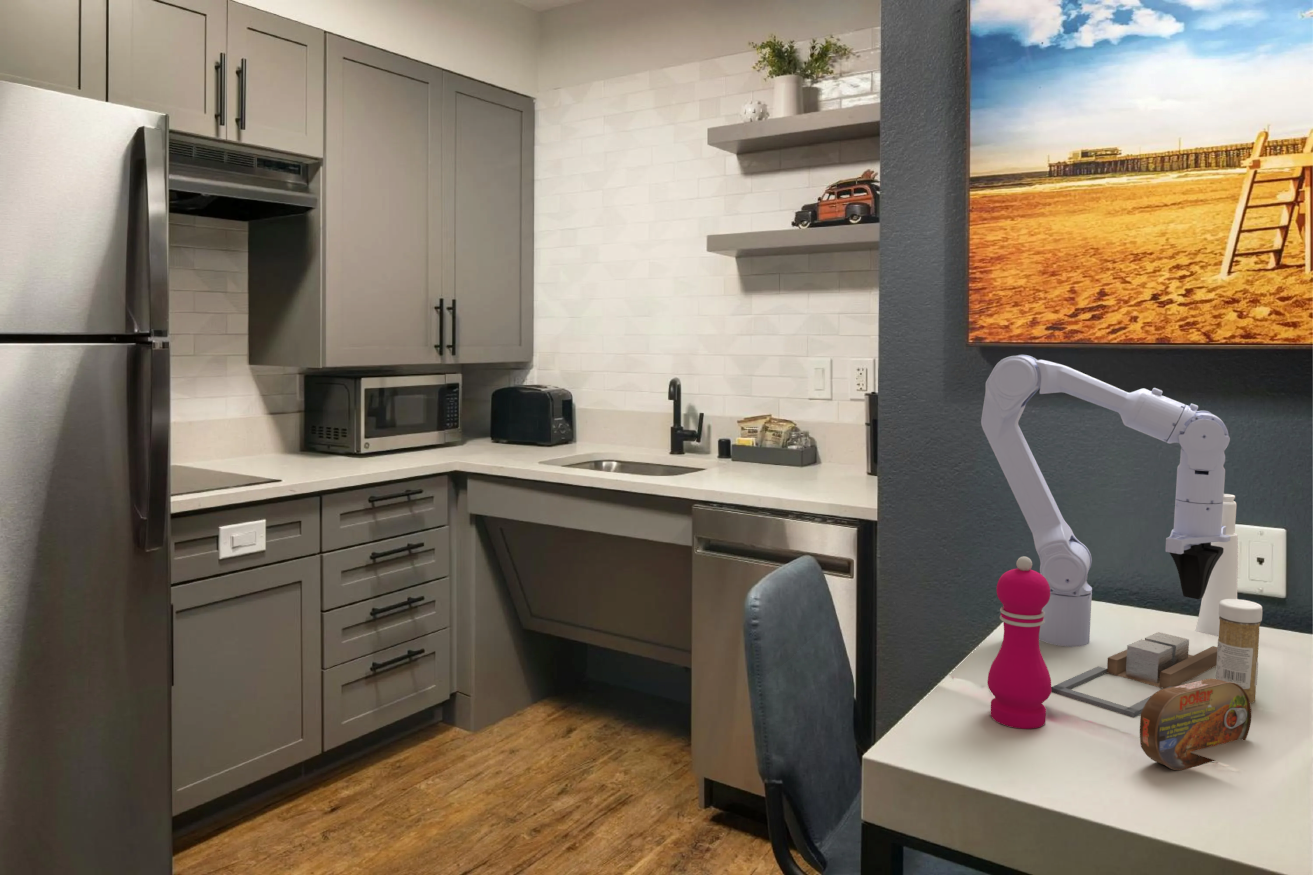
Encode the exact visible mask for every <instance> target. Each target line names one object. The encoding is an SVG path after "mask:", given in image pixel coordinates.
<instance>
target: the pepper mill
mask: <svg viewBox="0 0 1313 875" xmlns="http://www.w3.org/2000/svg"><path fill="white" fill-rule="evenodd" d="M1015 565H1016V568H1012V569H1010V570H1007V571H1005V572H1004V573H1002V574H1001V576H1000V577H999V579H998V580H997V584H996V595H997V598H998V600H999V601H1000V602H1001V604H1002V606H1001V607H1000V608H999V612H1000V615H999V620H1000V621H1002V623H1003V639H1002V643H1001V646H1000V649H999V651H998V652H997V654H996V656H995V658H994V659H993V661H992V663H991V665H990V669H989V671H988V675H987V687H988V689H989V691H990V693H991V694H992V695H993V696H994V698H992V699H991V700H990V712H989V713H990V717H991V718H992V719H993V720H994V721H995V722H996V723H998V724H1000V725H1003V726H1005V727H1010V728H1014V729H1022V730H1031V729H1038V728H1041V727H1043V726H1044V725H1045V724H1046V723H1047V722H1046V721H1047V720H1046V718H1047V707H1046V706H1045V705H1044V704H1043V703H1045V701H1047V700H1048V698H1049V697H1050V695H1051V694H1052V692H1051V691H1052V690H1051V687H1052V679H1051V675H1050V671H1049V669H1048V667H1047V664H1046V662H1045V660H1044V657H1043V654H1042V652H1041V647H1040V640H1039V631H1040V626H1041V625H1043V624H1044V622H1045V621H1044V616H1045V612H1044V611H1043V610H1042V608H1043V607H1044V606H1045V605H1046V604H1047V603H1048V601H1049V599H1050V587H1049V584H1048V582H1047V580H1046V578H1045V577H1044V576H1043V575H1041V574H1040V572H1038V571H1036V570H1033V569H1032V567H1033V561H1032V559H1031V558H1030V557H1028V556H1020V557H1018V559H1017V560H1016V564H1015Z"/></svg>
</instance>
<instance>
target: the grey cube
mask: <svg viewBox="0 0 1313 875" xmlns="http://www.w3.org/2000/svg"><path fill="white" fill-rule="evenodd" d="M1144 640H1146V641H1150V642H1154V643H1158V644H1162V645H1167V646H1171V647H1173V649H1172V666H1173V665H1175V664H1177V663H1179V662H1181V661H1183V660H1186V659H1188V654H1189V650H1190V649H1189V646H1190V639H1189V638H1185V637H1182V636H1181V637H1180V636H1176V635H1172V634H1168V633H1163V632H1159V631H1157V632H1156V633H1154V634H1151V635H1148V636H1146V637H1144Z"/></svg>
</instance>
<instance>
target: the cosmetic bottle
mask: <svg viewBox="0 0 1313 875" xmlns="http://www.w3.org/2000/svg"><path fill="white" fill-rule="evenodd" d="M1234 500H1236V495H1234V494H1230V493H1224V498H1223V512H1222V526H1226V535H1229V536H1231V537H1230V541H1228V542H1211V545H1212V546H1218V547H1222V548H1224V550H1223V554H1222V555H1221V557H1220V558H1219V559H1218V561H1217V563H1216V564H1215V566H1214V568H1213V570H1212V573H1211V575H1210V578H1209V581H1208V584H1207V587H1206V590H1205V593H1204V596H1203V598H1201V603H1200V607H1199V614H1198V617H1197V621H1196V625H1195V628H1194V629H1195V630H1194V631H1195V632H1197V633H1201V634H1206V635H1210V636H1214V637H1218V638H1219V625H1220V619H1219V603H1220V601H1221V600H1224V599H1238V569H1239V568H1238V564H1239V561H1238V558H1239V555H1238V553H1239V552H1238V551H1239V550H1238V549H1239V542H1238V541H1239V538H1238V536H1239V535H1238V533H1235V532H1236V519H1237V517H1236V516H1237V502H1236V501H1234Z"/></svg>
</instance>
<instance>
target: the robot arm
mask: <svg viewBox="0 0 1313 875" xmlns="http://www.w3.org/2000/svg"><path fill="white" fill-rule="evenodd" d="M1038 391H1039V395H1044V394H1056V393H1063V394H1064V393H1065V394H1067V395H1070V396H1073V397H1075V398H1078V399H1080V400H1083V401H1086V402H1088V403H1091V404H1094V405H1096V406H1099V407H1101V408H1102V407H1103V408H1105V409H1106V410H1107V409H1108V410H1110V411H1113V412H1116V413H1118V414H1119V416H1120V418H1121V420H1122V423H1123V425H1124V426H1125V427H1127V428H1130V429H1132V430H1135V431H1137V432H1140V433H1142V434H1145V435H1148V436H1149V437H1151V438H1154V439H1158V440H1160V441H1162V442H1164V443H1167V444H1175V443H1176V444H1179V445H1180V456H1179V458H1180V459H1179V460H1180V461H1179V464H1178V465H1177V468H1176V469H1177V470H1176V485H1175V486H1176V488H1175V501H1174V502H1175V503H1174V505H1175V506H1174V515H1173V517H1174V518H1173V529H1171V531H1170V535H1169V536H1168V537H1166V538H1165V551H1164V552H1165V553H1169V555H1170V556H1171V558H1172V560H1173V562H1174V565H1175V567H1176V570H1177V573H1178V578H1179V582H1180V588H1181V593H1182V595H1183V597H1184V598H1190V599H1194V600H1202V598H1203V596H1204V593H1205V590H1206V587H1207V584H1208V581H1209V578H1210V575H1211V573H1212V570H1213V568H1214V566H1215V564H1216V563H1217V561H1218V559H1219V558H1220V557H1221V555H1222V554H1223V550H1224V548H1222V547H1218V546H1212V545H1211V542H1228V541H1230V537H1231V536H1229V535H1226V526H1222V512H1223V498H1224V494H1225V480H1226V469H1225V467H1224V465H1225V463H1226V454H1225V451H1226V449H1227V447H1228V446H1229V444H1230V441H1231V437H1230V436H1229V435H1230V434H1229V431H1228V428H1227V425H1226V424H1225V423H1224V421H1223V420H1222V419H1221V418H1220V417H1219V416H1217V415H1216V414H1213V413H1212V412H1210V411H1208V410H1198V409H1199V405H1197V404H1194V403H1190V404H1188V405H1187V404H1186V403H1183V402H1180V401H1177V400H1175V399H1172V398H1170V397H1168V396H1164V395H1162V394H1163V390H1162V389H1159V388H1156V387H1153V388H1152V390H1149V389H1147V388H1140V389H1137V390H1134V391H1131V392H1128V391H1125V390H1123V389H1121V388H1118V387H1117V386H1114V385H1112V384H1109V383H1107V382H1104V381H1102V380H1100V379H1098V378H1095V377H1093V376H1090V375H1089V374H1085V373H1083V372H1081V371H1080V370H1077V369H1074V368H1072V367H1070V366H1068V365H1064V364H1061V363H1058V362H1053V361H1050V360H1045V359H1037V358H1036V357H1033V356H1031V355H1027V354H1018V355H1011V356H1007V357H1004V358H1002V359H1000V361H998V362H997V363H996V365H995V366H994V367H993V369H992V370H991V373H990V374H989V376H988V378H987V379H986V381H985V394H984V399H983V400H984V401H983V407H982V412H981V417H980V418H981V419H980V424H981V428H982V431H983V432H984V435H985V437H986V439H987V441H988V443H989V446H990V447H991V450H992V451H993V453H994V455H995V458H996V460H997V462H998V464H999V466H1000V468H1001V470H1002V472H1003V474H1004V477H1005V478H1006V481H1007V483H1008V486H1009V487H1010V489H1011V491H1012V494H1013V496H1014V498H1015V500H1016V502H1017V504H1018V507H1019V509H1020V510H1021V513H1022V515H1023V517H1024V519H1025V521H1026V523H1027V526H1028V527H1029V529H1030V532H1031V533H1032V538H1033V542H1034V548H1035V550H1036V553H1037V555H1038V558H1039V562H1040V565H1039V573H1040V574H1041V575H1043V576H1044V577H1045V578H1046V580H1047V582H1048V584H1049V587H1050V599H1049V601H1048V603H1047V604H1046V605H1045V606H1044V607H1043V608H1042V610H1043V611H1044V612H1045V616H1044V621H1045V622H1044V624H1043V625H1041V626H1040V631H1039V641H1042V642H1044V643H1047V644H1050V645H1055V646H1061V647H1082V646H1083V647H1085V646H1087V645H1088V644H1090V636H1091V616H1092V598H1093V596H1092V595H1093V593H1092V592H1093V587H1092V586H1091V585H1090V584H1089V583H1088V581H1087V580H1088V576H1089V575H1088V574H1089V571H1090V569H1091V568H1092V563H1093V560H1092V559H1093V558H1092V554H1091V552H1090V550H1089V548H1088V547H1087V545H1085V544H1084V543H1082V542H1081V541H1080V540H1079V539H1078V538H1077V537H1076V536H1075V534H1074V532H1073V529H1072V528H1071V527H1070V525H1069V524H1068V523H1067V522H1066V521H1065V519H1064V517H1063V515H1062V513H1061V511H1060V509H1059V506H1058V505H1057V502H1056V500H1055V498H1054V496H1053V494H1052V491H1051V490H1050V487H1049V486H1048V483H1047V481H1046V479H1045V477H1044V475H1043V473H1042V471H1041V469H1040V467H1039V465H1038V462H1037V461H1036V459H1035V456H1034V455H1033V452H1032V450H1031V448H1030V446H1029V444H1028V442H1027V439H1026V438H1025V436H1024V434H1023V432H1022V429H1021V427H1020V425H1019V421H1020V419H1021V417H1022V414H1023V413H1024V410H1025V409H1026V406H1027V403H1028V402H1029V401H1030V400H1031V398H1032V397H1033V396H1034V395H1035V394H1036V393H1037V392H1038Z"/></svg>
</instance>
